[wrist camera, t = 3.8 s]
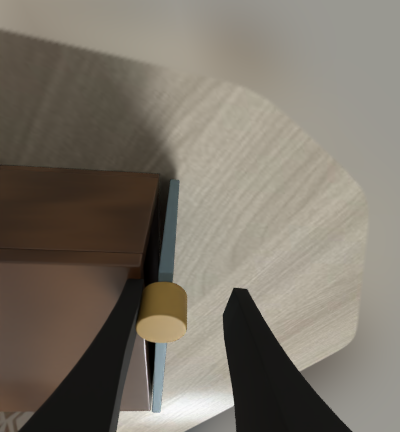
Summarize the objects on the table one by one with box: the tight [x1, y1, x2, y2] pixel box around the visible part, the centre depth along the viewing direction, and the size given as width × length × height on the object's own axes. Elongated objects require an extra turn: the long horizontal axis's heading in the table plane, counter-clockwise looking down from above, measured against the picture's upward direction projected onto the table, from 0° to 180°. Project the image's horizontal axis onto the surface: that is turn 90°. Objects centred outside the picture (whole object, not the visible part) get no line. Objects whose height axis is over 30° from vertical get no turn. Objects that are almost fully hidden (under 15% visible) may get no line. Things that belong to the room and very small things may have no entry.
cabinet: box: [0, 165, 160, 412], centre depth 18 cm, size 14×15×8 cm
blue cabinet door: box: [135, 179, 187, 413], centre depth 18 cm, size 2×14×10 cm, turn 173°
